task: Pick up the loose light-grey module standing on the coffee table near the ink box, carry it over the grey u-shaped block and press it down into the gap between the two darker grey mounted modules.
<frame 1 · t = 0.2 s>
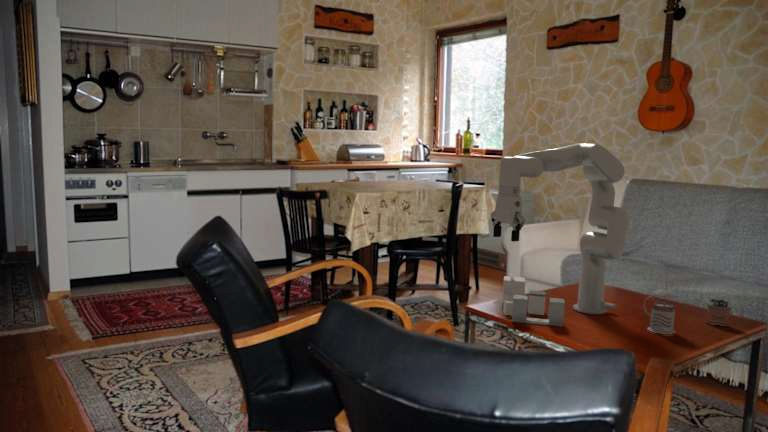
hand: (505, 238, 231), 31 cm above the table, tool pointing down, fingers open, 9 cm apart
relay: (509, 314, 246), on the table
grey u-shaped block: (536, 322, 236), on the table
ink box: (512, 307, 256), on the table
module: (536, 312, 250), on the table
lighter: (717, 325, 243), on the table
french press: (658, 331, 232), on the table
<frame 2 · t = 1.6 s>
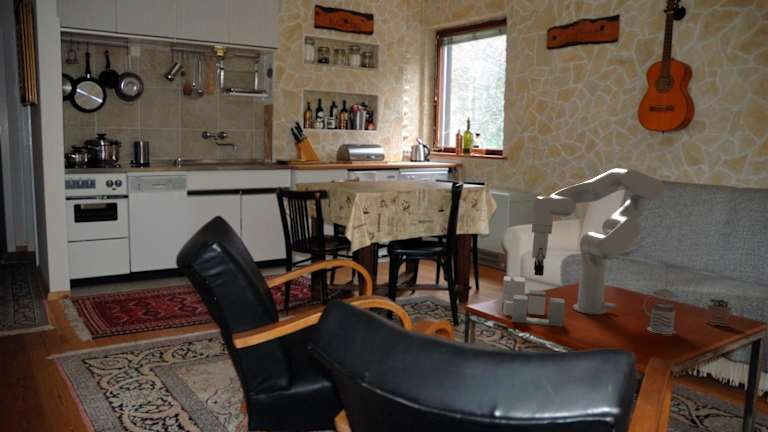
hand: (538, 272, 248), 16 cm above the table, tool pointing down, fingers open, 9 cm apart
nothing on the table moved.
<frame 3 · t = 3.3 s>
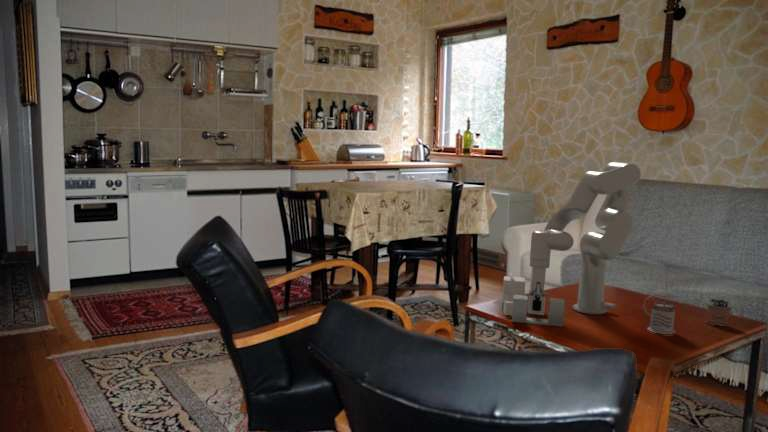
hand: (536, 307, 250), 2 cm above the table, tool pointing down, fingers closed on module, 5 cm apart
module: (536, 312, 250), on the table, touching gripper
everything else where it was.
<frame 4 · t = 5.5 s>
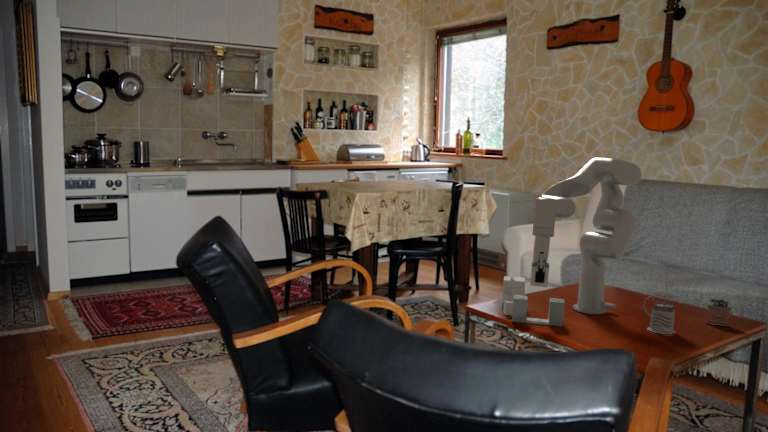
hand: (539, 280, 234), 16 cm above the table, tool pointing down, fingers closed on module, 5 cm apart
module: (538, 284, 235), point 14 cm above the table, touching gripper
everything else where it was.
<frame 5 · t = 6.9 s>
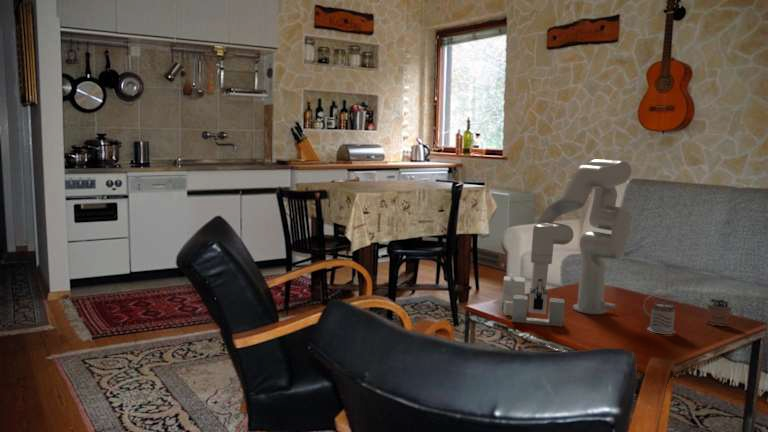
hand: (537, 306, 235), 6 cm above the table, tool pointing down, fingers closed on module, 5 cm apart
module: (537, 311, 235), point 4 cm above the table, touching gripper
everything else where it was.
when the fingers open (4 cm above the table, at t = 7.7 s): module drops 1 cm, resting on grey u-shaped block.
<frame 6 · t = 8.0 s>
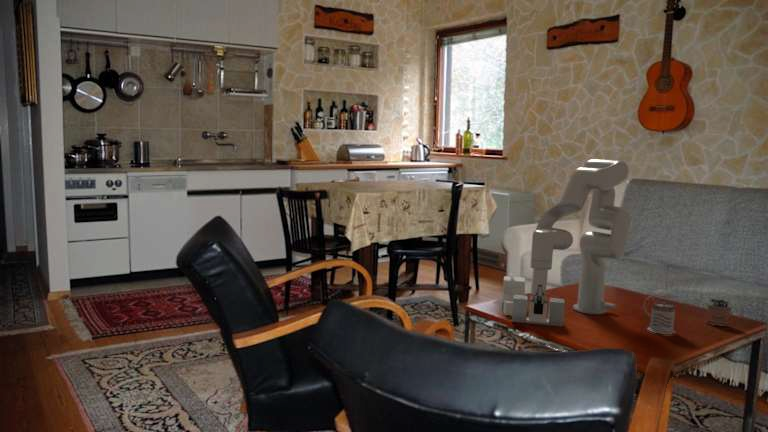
hand: (537, 310, 235), 5 cm above the table, tool pointing down, fingers open, 8 cm apart
module: (537, 319, 236), point 1 cm above the table, touching grey u-shaped block
everything else where it was.
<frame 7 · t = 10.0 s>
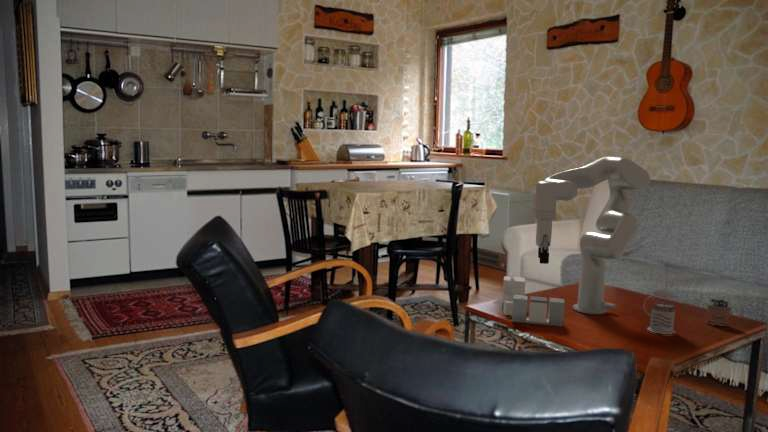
hand: (543, 260, 239), 22 cm above the table, tool pointing down, fingers open, 9 cm apart
nothing on the table moved.
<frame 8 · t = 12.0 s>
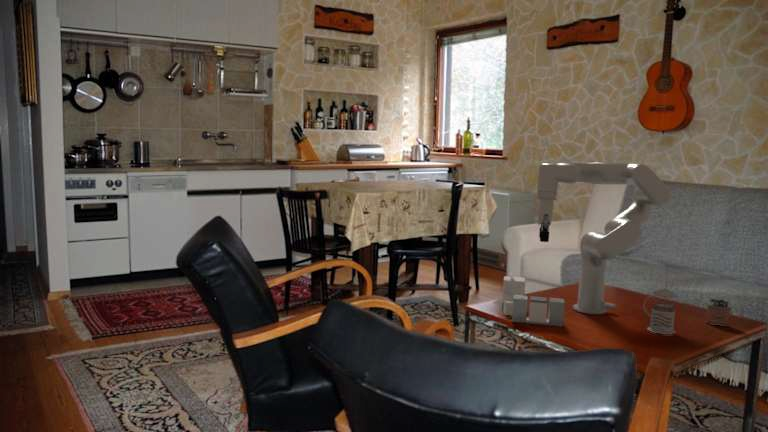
hand: (543, 239, 249), 28 cm above the table, tool pointing down, fingers open, 9 cm apart
nothing on the table moved.
at the end: module 0.0 cm off-centre on the grey u-shaped block, point 1.0 cm above the grey u-shaped block's base; module tilted 0°; the gripper is holding nothing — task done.
